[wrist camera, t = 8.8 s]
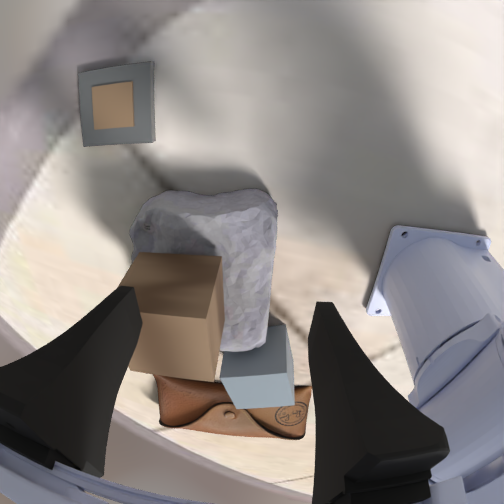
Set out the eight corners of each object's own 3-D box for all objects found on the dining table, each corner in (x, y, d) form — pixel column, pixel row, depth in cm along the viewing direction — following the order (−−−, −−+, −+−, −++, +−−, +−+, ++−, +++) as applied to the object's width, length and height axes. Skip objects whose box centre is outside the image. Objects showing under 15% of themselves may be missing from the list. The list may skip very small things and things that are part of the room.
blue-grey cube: (285, 323, 25) (286, 372, 21) (293, 359, 28) (294, 405, 24) (227, 330, 26) (219, 377, 22) (241, 364, 29) (236, 409, 25)
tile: (153, 61, 15) (149, 61, 14) (155, 140, 18) (151, 143, 17) (83, 72, 15) (76, 73, 14) (88, 144, 18) (82, 147, 17)
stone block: (166, 302, 28) (275, 326, 25) (141, 337, 23) (262, 369, 21) (150, 173, 21) (288, 186, 19) (110, 197, 17) (274, 215, 15)
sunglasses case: (318, 384, 30) (315, 445, 27) (307, 386, 36) (304, 437, 33) (147, 370, 30) (141, 429, 27) (165, 375, 37) (160, 424, 34)
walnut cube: (221, 256, 18) (206, 318, 13) (224, 319, 20) (213, 381, 16) (139, 252, 18) (105, 307, 14) (153, 313, 21) (130, 370, 16)
